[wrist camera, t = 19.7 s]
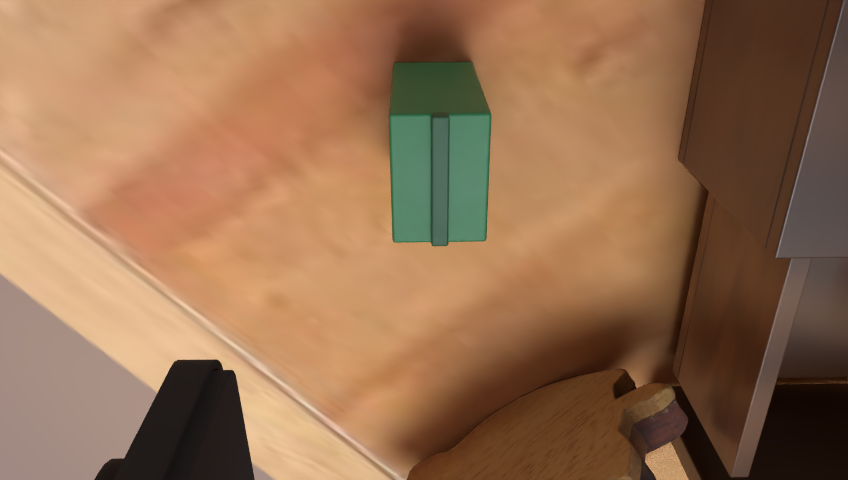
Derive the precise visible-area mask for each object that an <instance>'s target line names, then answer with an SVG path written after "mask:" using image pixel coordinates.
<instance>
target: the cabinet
mask: <svg viewBox="0 0 848 480" xmlns="http://www.w3.org/2000/svg"><path fill="white" fill-rule="evenodd" d="M679 161H680V162H681V163H682V164H683V165H684V167H685V168H686V169H687V170H688V171H689V172H690V173H691V174H692V175H693V176H694V177H695V178H696V179H697V180H698V181H699V182H700V183H701V184H702V185H703V186H704V187H705V188H706V189H707V190H708V191H709V192H710V193H711V194H712V195H713V196H714V197H715V198H716V199H717V200H718V201H719V202H720V203H721V204H722V205H723V206H724V207H725V208H726V209H727V211H728V212H729V213H730V214H731V215H732V216H733V217H734V218H735V219H736V220H737V221H738V222H739V223H740V224H741V225H742V226H743V227H744V228H745V229H746V230H747V231H748V232H749V233H750V234H751V235H752V236H753V237H754V238H755V239H756V240H757V241H758V242H759V243H760V244H761V245H762V246H763V247H764V248H765V249H766V250H767V251H768V252H769V253H770V254H771V255H772V256H773V257H774V258H776V259H777V258H848V0H706V6H705V12H704V17H703V23H702V29H701V34H700V40H699V46H698V51H697V57H696V63H695V68H694V74H693V80H692V85H691V91H690V97H689V102H688V108H687V114H686V119H685V125H684V131H683V136H682V142H681V148H680V153H679Z"/></svg>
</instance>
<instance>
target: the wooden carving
mask: <svg viewBox="0 0 848 480" xmlns="http://www.w3.org/2000/svg"><path fill="white" fill-rule="evenodd" d="M687 423H688V417H687V416H686V414H685V413H684V412H683V410H682V409H681V407H680V406H679V405H678V403H677V401H676V399H675V392H674V390H673V389H672V387H671V386H670V385H667V384H663V383H652V384H646V385H643V386H641V387H639V388H636V387H635V383H634V381H633V380H632V378H631V377H630V376H629V374H628V373H627V371H626V370H624V369H617V370H605V371H600V372H595V373H591V374H586V375H581V376H576V377H573V378H569V379H565V380H562V381H558V382H555V383H552V384H549V385H547V386H544V387H542V388H539V389H537V390H534V391H532V392H530V393H528V394H526V395H524V396H522V397H520V398H518V399H517V400H515V401H513V402H511V403H509V404H508V405H506V406H504V407H503V408H501V409H500V410H498V411H497V412H495V413H494V414H492V415H491V416H489V417H488V418H487V419H485V420H484V421H483V422H481V423H480V424H479V425H478V426H477V427H475V428H474V429H473V430H472V431H471V432H470V433H469V434H468V435H467V436H466V437H465V438H464V439H463V440H462V441H461V442H460V443H458V444H457V445H456V446H455V447H454V448H452V449H450V450H449V451H445V452H441V453H438V454H435V455H432V456H429V457H428V458H427V459H426V460H423V461H421V462H420V463H418V464H417V465H416V466H414V467H413V468H412V469H411V471H410V472H409V476H408V478H407V480H656V478H655V476H654V474H653V473H652V472H651V470H650V469H649V467H648V466H647V465H646V463H645V455H646V454H647V453H649V452H651V451H654V450H656V449H658V448H660V447H661V446H663V445H665V444H667V443H669V442H671V441H672V440H674V439H675V438H676V437H678V436H680V435H681V434H682V433H683V432H684V431H685V429H686V426H687Z"/></svg>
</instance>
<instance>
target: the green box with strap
mask: <svg viewBox="0 0 848 480" xmlns="http://www.w3.org/2000/svg"><path fill="white" fill-rule="evenodd" d="M490 136H491V113H490V110H489V107H488V105H487V102H486V99H485V96H484V93H483V91H482V88H481V85H480V82H479V79H478V77H477V74H476V71H475V68H474V65H473V63H472V62H416V63H394V65H393V75H392V86H391V97H390V109H389V139H390V172H391V204H392V237H393V242H431V244H432V246H447V245H448V242H465V241H485V240H486V234H487V210H488V185H489V161H490Z"/></svg>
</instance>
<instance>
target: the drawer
mask: <svg viewBox="0 0 848 480" xmlns="http://www.w3.org/2000/svg"><path fill="white" fill-rule="evenodd" d="M673 372H674V374H675V376H676V378H677V379H678V382H679V383H680V385H681V386H671V387H672V389H673V390H674V392H675V399H676V401H677V403H678V405H679V406H680V407H681V409H682V410H683V412H684V413H685V414H686V416H687V417H688V423H687V426H686V429H685V431H684V432H683V433H682V434H681V435H680V436H678V437H676V438H675V439H674V440H672V441H671V443H672V445H673V447H674V449H675V451H676V453H677V455H678V458H679V460H680V462H681V464H682V466H683V468H684V470H685V472H686V475H687V477H688V479H689V480H848V383H837V384H776V381H777V378H822V377H848V258H777V259H776V258H774V257H773V256H772V255H771V254H770V253H769V252H768V251H767V250H766V249H765V248H764V247H763V246H762V245H761V244H760V243H759V242H758V241H757V240H756V239H755V238H754V237H753V236H752V235H751V234H750V233H749V232H748V231H747V230H746V229H745V228H744V227H743V226H742V225H741V224H740V223H739V222H738V221H737V220H736V219H735V218H734V217H733V216H732V215H731V214H730V213H729V212H728V211H727V209H726V208H725V207H724V206H723V205H722V204H721V203H720V202H719V201H718V200H717V199H716V198H715V197H714V196H713V195H712V194H711V193H710V192H709V193H708V198H707V203H706V207H705V212H704V217H703V222H702V227H701V232H700V237H699V242H698V247H697V252H696V257H695V262H694V267H693V271H692V276H691V281H690V286H689V291H688V296H687V301H686V306H685V311H684V316H683V321H682V326H681V331H680V335H679V340H678V345H677V350H676V355H675V360H674V365H673ZM775 384H776V385H775Z"/></svg>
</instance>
